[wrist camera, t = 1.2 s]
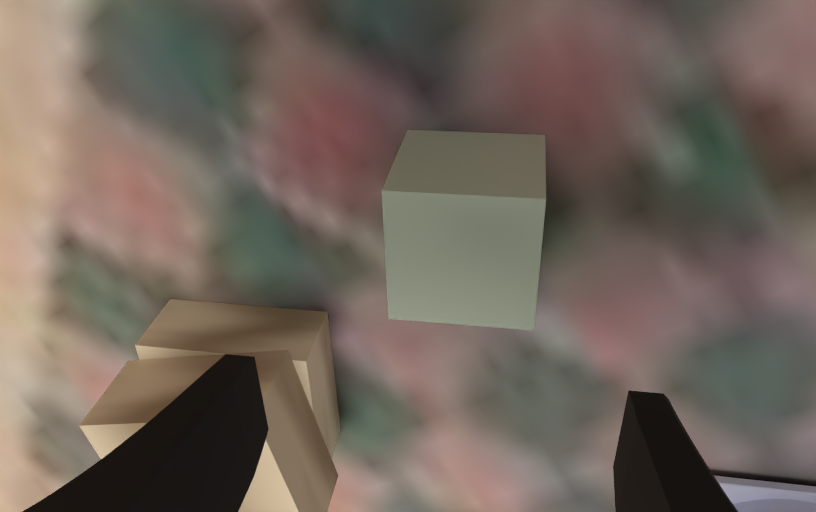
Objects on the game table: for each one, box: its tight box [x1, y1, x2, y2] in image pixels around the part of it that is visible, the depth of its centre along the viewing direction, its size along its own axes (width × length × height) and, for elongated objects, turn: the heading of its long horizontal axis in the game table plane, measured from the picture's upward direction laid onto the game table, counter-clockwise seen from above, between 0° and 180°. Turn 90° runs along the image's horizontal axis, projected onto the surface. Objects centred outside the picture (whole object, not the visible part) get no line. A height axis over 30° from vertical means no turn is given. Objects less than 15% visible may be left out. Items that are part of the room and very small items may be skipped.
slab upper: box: [80, 350, 338, 512], centre depth 23 cm, size 6×6×3 cm
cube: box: [381, 130, 546, 331], centre depth 19 cm, size 4×4×4 cm
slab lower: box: [135, 299, 341, 458], centre depth 25 cm, size 6×6×3 cm
